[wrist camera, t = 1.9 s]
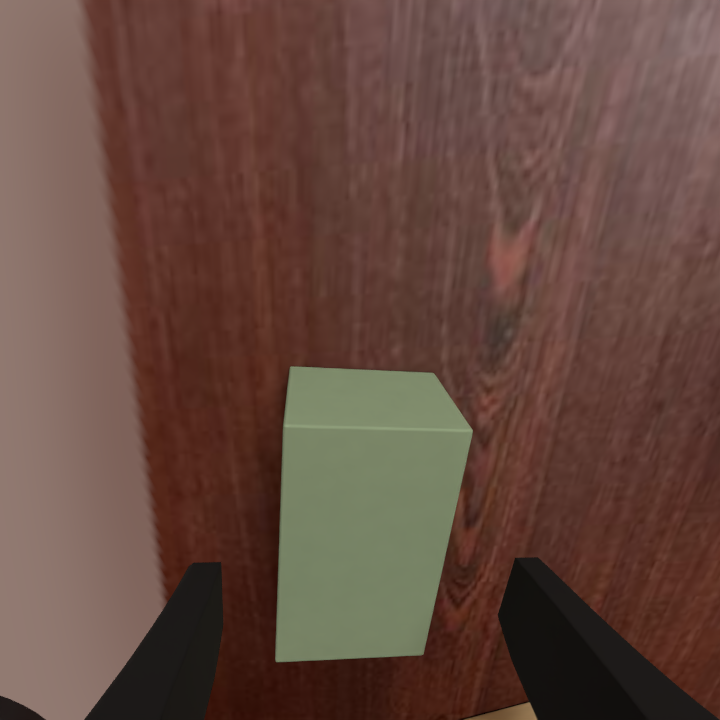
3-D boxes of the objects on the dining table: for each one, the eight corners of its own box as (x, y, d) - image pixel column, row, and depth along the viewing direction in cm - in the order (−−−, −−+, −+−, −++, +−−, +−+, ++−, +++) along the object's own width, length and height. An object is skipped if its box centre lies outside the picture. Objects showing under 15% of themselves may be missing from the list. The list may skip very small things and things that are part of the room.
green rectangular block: (282, 565, 16) (274, 663, 12) (289, 365, 13) (282, 425, 9) (401, 563, 16) (424, 656, 13) (434, 372, 13) (474, 430, 10)
